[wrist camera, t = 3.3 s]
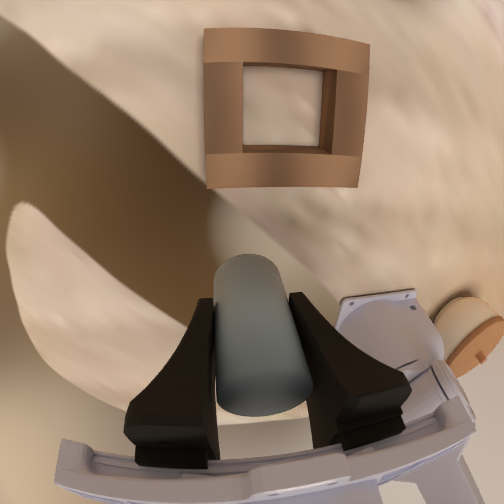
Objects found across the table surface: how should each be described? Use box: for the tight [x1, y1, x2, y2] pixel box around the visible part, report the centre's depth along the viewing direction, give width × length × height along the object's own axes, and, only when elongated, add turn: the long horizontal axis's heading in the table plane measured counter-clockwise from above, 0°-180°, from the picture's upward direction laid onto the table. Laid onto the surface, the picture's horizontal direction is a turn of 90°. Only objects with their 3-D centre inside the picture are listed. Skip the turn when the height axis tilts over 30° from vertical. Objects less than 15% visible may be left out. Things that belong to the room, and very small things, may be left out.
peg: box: [214, 254, 313, 417], centre depth 13 cm, size 4×4×7 cm
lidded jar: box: [434, 297, 504, 378], centre depth 28 cm, size 11×11×9 cm
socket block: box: [204, 28, 370, 189], centre depth 16 cm, size 10×10×2 cm
